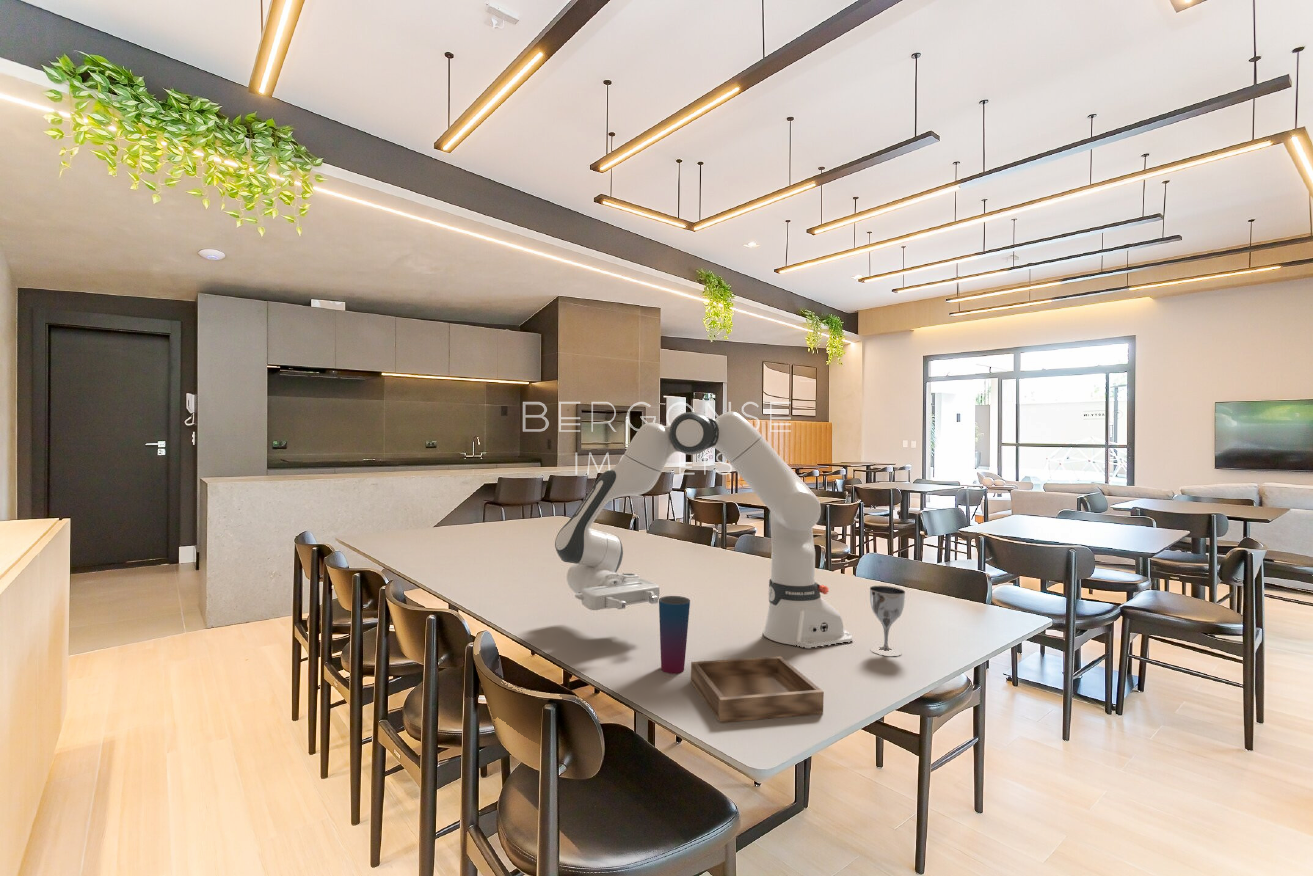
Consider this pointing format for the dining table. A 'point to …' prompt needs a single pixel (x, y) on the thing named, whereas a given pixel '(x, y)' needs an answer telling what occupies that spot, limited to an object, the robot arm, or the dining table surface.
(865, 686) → the dining table surface
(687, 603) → the cup
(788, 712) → the tray
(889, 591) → the wine glass
